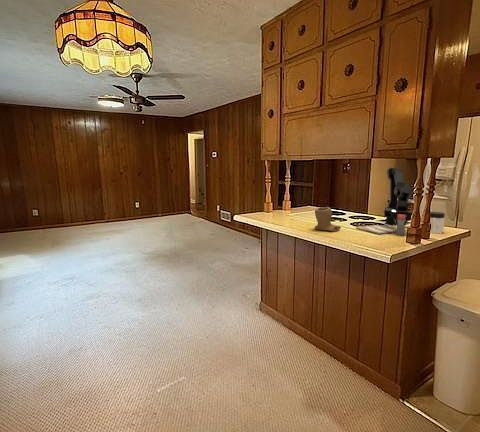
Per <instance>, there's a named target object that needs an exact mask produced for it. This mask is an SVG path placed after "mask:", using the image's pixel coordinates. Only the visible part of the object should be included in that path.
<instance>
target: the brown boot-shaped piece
mask: <svg viewBox="0 0 480 432" xmlns="http://www.w3.org/2000/svg"><path fill="white" fill-rule="evenodd" d="M332 210H333V209H332V208H331V207H329V206H326V207H323V206H321V207H317V208H315V210H314V217H315V219H316V222H317V225H315V226H314V229H315V230H321V231H326V232H327V231H328V232H337V231H339V230H340V229H341V228H342V227H341V226H340V225H335V224H332V223H331V222H332V216H333V211H332Z"/></svg>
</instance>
